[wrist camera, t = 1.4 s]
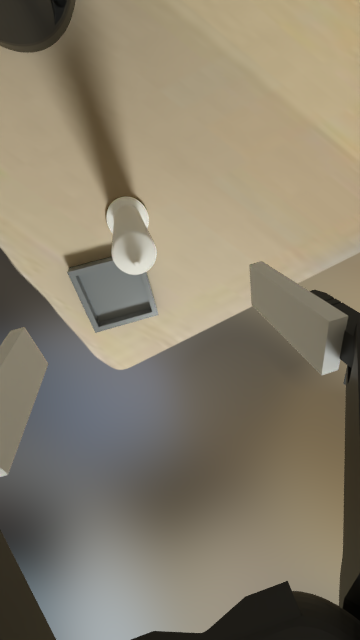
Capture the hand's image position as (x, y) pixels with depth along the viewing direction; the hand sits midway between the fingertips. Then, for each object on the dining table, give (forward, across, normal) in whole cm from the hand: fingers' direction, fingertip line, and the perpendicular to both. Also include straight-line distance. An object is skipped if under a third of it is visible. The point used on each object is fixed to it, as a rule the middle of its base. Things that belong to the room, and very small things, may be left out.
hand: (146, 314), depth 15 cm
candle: (+34, 0, 0) cm, 35 cm away
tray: (+34, -6, -12) cm, 37 cm away
